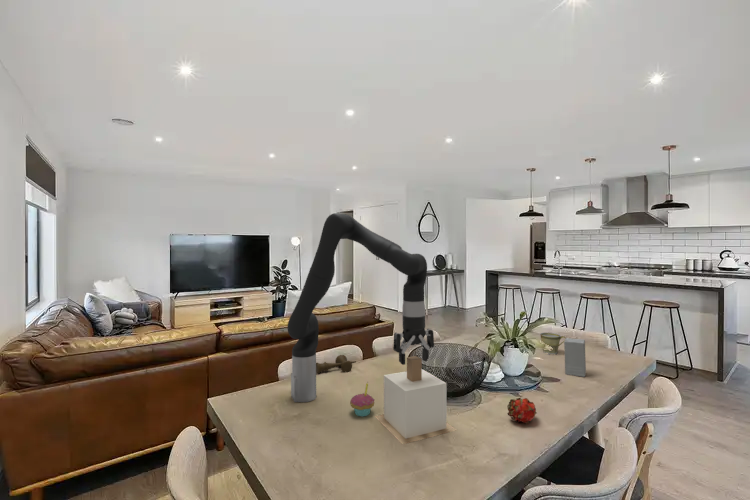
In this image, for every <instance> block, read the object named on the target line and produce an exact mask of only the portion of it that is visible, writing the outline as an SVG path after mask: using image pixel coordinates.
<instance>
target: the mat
mask: <svg viewBox="0 0 750 500" xmlns="http://www.w3.org/2000/svg"><path fill="white" fill-rule="evenodd" d="M374 417H375V418H376V419H377V420H378V422H380V424H381V425H382V426H384V427H385V429H386V430H387V431H389V432H390V434H391V435H392V436H393V437H394V438H396V439H397V441H398V442H399V443H400V444H401V445H405V444H406V445H407V444H409V443H414V442H418V441H421V440H425V439H429V438H432V437H437V436H441V435H444V434H448V433H452V432H456V431H457V428H455V427H454V426H452V425H451V424H449V423H448V422H447V421H446V429H442V430H438V431H434V432H430V433H426V434H422V435H418V436H414V437H410V438H407V439H405V438H404V437H403V436H402V435H401V434H400V433H399V432H398V431H397V430H396V429H395V428H394V427H393V426H392V425H391V424H390V423H389V422H388V421H387V420H386V419H385V418H384V413H382V414H378V415H375V416H374Z"/></svg>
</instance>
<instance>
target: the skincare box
mask: <svg viewBox="0 0 750 500" xmlns="http://www.w3.org/2000/svg"><path fill="white" fill-rule="evenodd" d="M563 341H564V342H563V344H564V345H563V347H564V373H565V375H567V376H568V375H569V376H574V377H575V376H576V377H583V378H585V377H586V374H587V373H586V372H587V363H586V339H581V338H570V337H569V338H568V337H566V339H565V338H564V340H563Z"/></svg>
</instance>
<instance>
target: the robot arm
mask: <svg viewBox="0 0 750 500" xmlns="http://www.w3.org/2000/svg"><path fill="white" fill-rule="evenodd" d="M341 240H351V241H353V242H355V243H358V244H360V245H362V246H363V247H364V248H365V249H366V250H367V251H369V253H371V254H372V255H373V256H375V257H377V258H379V259H380V260H383V261H384V262H387V264H390V265H391V266H392V267H393V268H394V269H396V270H397V271H399V272H400V273H402V274H404V275H405V276H407V278H406V282H405V283H404V284H403V287H402V298H403V299H402V300H403V301H402V313H401V314H402V332H394V333H393V351H394V352H396V353H398V362H399V363H400V364H401V365H403V366H404V365H406V351H407V349H410V346H415V345H420V346H421V347H422V350H421V352H422V354H421V355H422V358H421V359H422V361H424V362H428V360H429V357H430V356H429V355H430V353H429V352H430V349H431V348H432V349H433V348H434V347H435V338H434V330H433V329H431V328H426V304H425V303H426V302H425V284H426V280H427V273H428V272H427V271H428V262H427V259H426V257H425V256H424V255H422V254H420V253H410V252H407V251H406V250H404V249H403V248H402V247H401V245H399V244H398V243H395V242H394V241H392V240H390V239H388V238H385V237H384V236H381V235H379V234H378V233H376V232H374V231H372V230H370V229H369V228H367V227H366V226H364V225H363V224H362V223H360V222H359V221H357V220H356V219H355V218H354V217H352V216H351V215H349V214H346V213H331V214H329V215H328V216H327V217H326V219H325V221H324V224H323V227H322V230H321V235H320V239H319V242H318V246H317V249H316V252H315V254H314V255H315V256H314V257H313V261H312V263H311V266H310V268H309V270H308V274H307V276H306V280H305V283H304V285H303V288H302V291H301V292H300V296H299V298H298V301H297V303H296V305H295V307H294V309H293V311H292V313H291V315H290V317H289V319H288V322H287V333H288V335H289V336H290V338H291V339H294V340H297V341H296V343H295V344H294V345H293V347H292V348H291V349H292V350H291V362H292V363H291V365H292V366H291V370H292V371H291V373H290V394H291V395H290V397H291V400H293V402H294V403H307V402H312V401H314V400H316V398H317V372H316V363H317V348H318V345H319V331H320V330H319V321H318V318H317V316H316V315H315V313H313V312H314V310H315V308H316V307H317V305H318V304H319V303H320V301H322V299H323V298H324V297H325V296H326V294H327V292H328V290H329V288H330V286H331V284H332V282H333V279H334V276H335V270H336V268H335V267H336V266H335V254H336V251H337V248H338V245H339V243H340V241H341ZM425 328H426V329H425ZM425 336H426V339H424V338H425ZM401 340H402V341H401Z"/></svg>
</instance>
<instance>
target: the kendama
mask: <svg viewBox="0 0 750 500" xmlns="http://www.w3.org/2000/svg"><path fill="white" fill-rule="evenodd" d="M355 363H357V361H355V360H353V361H350V360H348V358H347V356H346V355H344V354H340V355H338V356H337V357H336V358H335V362H333V363H332V362H331V363H330V362H327V361H324V362H322V363H319V362H316V375H317V374H318V375H319V374H320V373H322V372H325V373H326V372H328V371H329V370H331V369H334V368H337V367H339V368H340V369H341V371H342V372H343V373H350V372H351V371H352V369H353V364H355Z"/></svg>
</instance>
